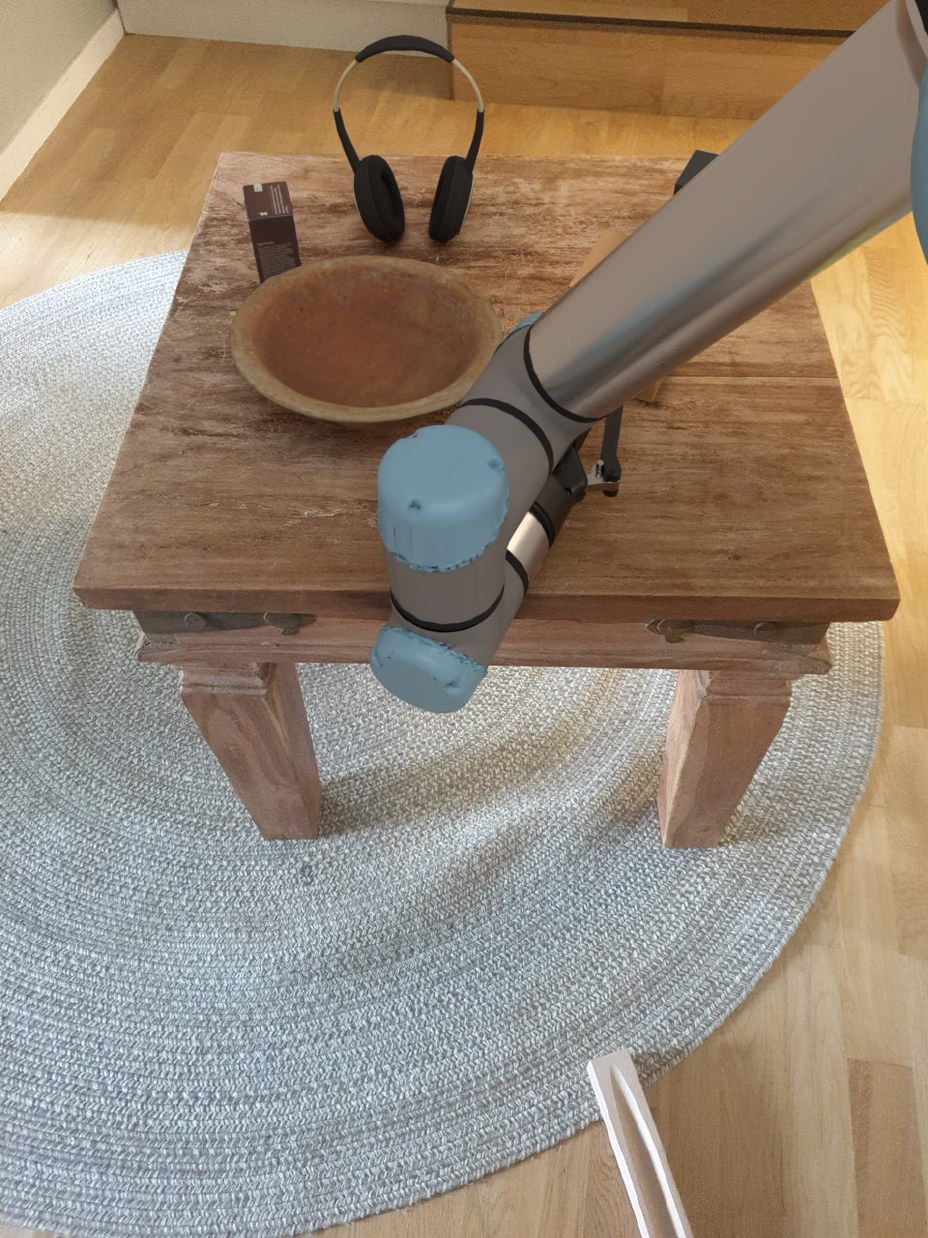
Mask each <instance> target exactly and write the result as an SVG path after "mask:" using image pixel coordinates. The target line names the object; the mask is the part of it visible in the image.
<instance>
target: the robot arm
mask: <svg viewBox="0 0 928 1238" xmlns="http://www.w3.org/2000/svg"><path fill="white" fill-rule="evenodd" d="M911 213H912V216H913V222H914V226H915V232H916V235H917V239H918V241H919V245H920V248H921V252H922V253H923V257H924V259H925V260H924V261H925V262H926V265H927V266H928V0H889V1H888V2H887V3H886V4H884V5H883V7H881V8H880V9H879V10H878V11H877V12H876V13H875V14H874V15H872V16H871V17H870V18H869V19H868V20H867V21H866V22H865V23H864V24H862V25H861V26H860V27H859V28H858V29H856V31H855V32H853V34H852V35H850V36H849V37H848V38H847V39H846V40H844V42H842V43H841V44H840V45H839V46H838V47H837V48H836V49H835V50H834V51H832V52H831V53H830V54H829V55H828V56H826V57H825V59H823V60H822V61H821V62H820V63H819V64H818V65H817V66H816V67H814V68H813V69H812V70H811V71H810V72H809V73H807V75H806V76H805V77H803V79H801V80H800V81H798V83H797V84H796V85H795V86H793V87H792V88H791V89H790V90H789V91H788V92H786V94H784V95H783V96H782V98H780V99H779V100H778V101H777V102H775V103H774V104H773V106H771V107H770V108H769V109H768V110H767V111H765V113H764V114H763V115H761V116H760V117H758V119H757V120H756V121H754V123H752V124H751V125H750V126H749V127H748V128H747V129H746V130H745V131H743V132H742V133H741V134H740V135H739V136H738V137H737V138H735V140H733V141H732V142H731V143H730V144H729V145H728V146H727V147H725V149H723V151H721V152H720V153H719V155H718V156H717V157H716V158H715V159H714V160H713V161H711V162H710V163H709V164H708V165H707V166H706V167H705V168H704V169H703V170H701V171H700V172H699V173H698V174H697V175H696V176H695V177H694V178H693V179H691V180H690V181H689V182H688V183H687V184H686V185H685V186H684V187H683V188H681V189H680V190H679V191H678V192H677V193H676V194H675V195H674V196H673V195H672V196H671V197H670V198H669V199H668V200H666V202H665V203H663V204H662V205H661V206H660V207H659V208H658V209H657V210H656V211H655V212H654V213H652V214H651V215H650V216H649V217H648V218H647V219H646V220H645V221H644V222H642V223H641V224H640V225H639V226H638V227H637V228H635V230H633V231H632V232H631V233H630V234H628V235H629V236H628V237H627V238H626V239H625V240H624V241H623V242H621V243H620V244H619V245H618V246H617V247H616V248H615V249H614V250H612V251H611V252H610V253H609V254H608V255H607V256H606V257H605V258H604V259H602V260H601V261H600V262H599V263H598V264H597V265H596V266H595V267H594V268H592V269H591V270H590V271H589V272H588V273H587V274H586V275H585V276H584V277H582V278H581V279H580V280H579V281H578V282H577V283H576V284H575V285H574V286H572V287H571V288H570V289H569V290H568V289H567V291H566V292H565V293H563V294H562V295H561V296H559V298H558V299H557V300H556V301H555V302H553V303H552V304H551V305H550V306H549V307H548V308H547V309H545V311H539V312H538V311H537V312H534V313H531V314H529V315H527V316H526V317H524V318H523V319H522V320H521V321H520V322H519V323H517V325H516V326H515V328H513V329H512V330H511V331H510V332H509V333H508V334H507V335H506V336H505V337H503V341H502V342H501V343H500V344H499V345H498V346H497V348H496V349H495V351H494V352H493V354H492V358H491V360H490V361H489V363H488V364H487V366H486V367H485V369H484V370H483V371H482V373H481V374H480V376H479V377H478V379H477V380H476V381H475V383H474V384H473V386H472V387H471V389H470V390H469V391H468V393H467V394H466V396H465V397H464V399H463V400H462V401H460V402H459V403H458V406H457V407H455V409H454V410H453V412H452V413H451V414H450V415H449V417H448V418H447V419H446V421H445V422H444V423H443V424H434V425H428V426H427V425H426V426H424V427H423V426H422V427H420V428H418V429H416V430H415V432H414V433H412V434H411V435H409V436H407V437H405V438H404V437H403V438H399V439H398V440H396V441H395V442H393V444H391V445H390V447H388V449H387V450H386V452H385V453H384V455H383V456H382V458H381V461H380V463H379V465H378V469H377V474H376V500H377V508H376V510H375V512H376V517H377V521H376V524H377V530H378V532H379V536H380V538H381V542H382V548H383V554H384V561H385V566H386V573H387V578H388V585H389V586H388V592H389V598H390V604H391V613H390V616H389V619H388V620H387V622H386V623H385V624H384V625H381V627H380V628H379V630H378V631H379V633H378V635H377V638H376V640H375V642H374V645H373V646H372V648H371V651H370V654H369V657H368V658H369V666H370V669H371V672H372V673H373V675H374V677H375V678H376V680H377V681H378V682H379V683H380V685H382V687H384V689H385V690H387V691H388V692H389V693H390V694H392V695H393V696H394V697H396V698H397V699H399V700H400V701H402V702H404V703H405V704H408V705H410V706H411V707H415V708H417V709H419V710H422V711H425V712H428V713H433V714H445V715H446V714H453V713H455V712H458V711H460V710H461V709H463V708H464V707H465V706H466V705H467V704H468V702H469V701H470V699H471V698H472V696H473V695H474V694H475V691H476V690H477V689H478V687H479V685H480V684H481V683H482V681H483V680H484V678H487V676H488V674H489V671H488V669H489V668H490V665H491V663H492V661H493V659H494V657H495V655H496V653H497V651H498V649H499V648H500V646H501V643H502V642H503V640H504V638H505V636H506V634H507V632H508V630H509V629H510V627H511V624H512V622H513V621H514V618H515V616H516V614H517V613H518V611H519V609H520V607H521V605H522V603H523V600H524V599H525V597H526V595H527V594H528V591H529V589H530V587H531V585H532V583H533V581H534V580H535V579H536V576H537V574H538V572H539V570H540V569H541V567H542V565H543V563H544V562H545V560H546V558H547V556H548V553H549V550H550V549H551V548H552V546H553V545H554V543H555V541H556V539H557V538H558V535H559V533H560V532H561V530H562V528H563V526H564V524H565V523H566V520H567V519H568V516H569V515H570V512H571V510H572V509H573V508H574V506H575V505H577V504H578V503H581V502H582V501H583V500H584V499H585V498H586V496H587V493H597V492H602V494H603V496H605V497H607V498H615V497H616V496H618V494H619V491H620V490H619V489H620V484H621V480H622V479H621V478H622V473H623V471H622V470H623V469H622V466H621V463H620V460H619V458H618V454H617V451H618V445H619V439H620V432H621V426H622V419H623V413H624V407H625V404H626V403H628V402H630V401H632V400H633V399H635V398H634V397H636V396H637V395H639V394H640V393H641V392H643V391H644V390H646V389H647V388H649V387H650V386H652V385H653V384H655V383H656V382H658V381H659V380H661V379H662V378H664V377H665V378H666V377H667V376H669V375H670V374H671V373H673V372H674V371H676V370H677V369H679V368H680V367H682V366H684V365H685V364H687V363H688V362H690V361H692V360H693V359H694V358H695V357H697V356H698V355H701V354H702V353H703V352H705V351H706V350H707V349H709V348H710V347H712V346H714V345H715V344H717V343H718V342H720V341H721V340H722V339H724V338H725V337H727V336H729V335H730V334H732V333H733V332H734V331H736V330H738V329H739V328H741V327H742V326H743V325H745V324H746V323H747V322H750V321H751V320H752V319H754V318H755V317H757V316H758V315H760V314H761V313H764V311H766V310H768V309H769V308H770V307H772V306H773V305H775V304H776V303H778V302H779V301H780V300H783V299H784V298H785V297H787V296H789V294H791V293H793V292H795V290H797V289H798V288H800V287H801V286H803V285H805V284H806V283H808V282H809V281H810V280H813V279H814V278H815V277H817V276H818V275H820V274H821V273H822V272H824V271H826V270H827V269H829V268H830V267H832V266H833V265H835V264H836V263H838V262H839V261H841V260H842V259H844V258H845V257H847V256H848V255H850V254H851V253H853V252H854V251H856V250H857V249H859V248H860V247H862V246H863V245H865V244H866V243H868V242H870V240H872V239H874V238H875V237H877V236H878V235H879V234H881V233H882V232H884V231H885V230H887V229H888V228H890V227H891V226H893V225H894V224H896V223H898V222H899V221H901V220H902V219H904V218H905V217H906V216H908V215H910V214H911ZM665 378H664V379H665ZM604 419H605V423H604V430H603V435H602V436H603V437H602V442H601V448H600V456H599V459H598V460H597V461H596V463H594V464H593V465H592V466H591V472H589V474H587V473H586V470H585V468H584V465H583V463H582V460H581V457H580V454H579V452H580V450H581V448H582V447H583V445H584V443H585V441H586V440H587V437H588V436H589V434H590V432H591V430H592V429H593V427H594V426H595V425H597V424H598V423H600V422H601V421H602V420H604Z"/></svg>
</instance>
